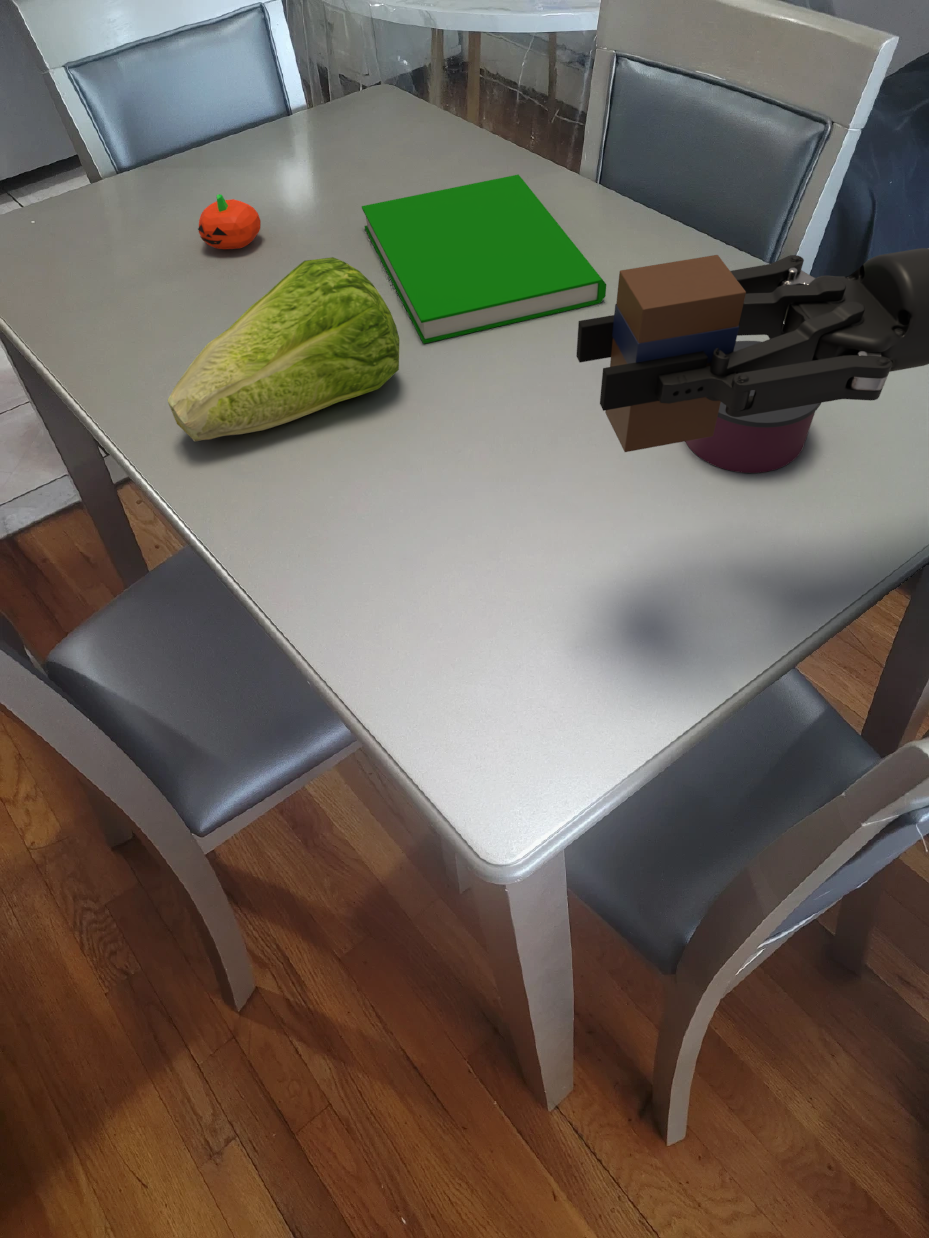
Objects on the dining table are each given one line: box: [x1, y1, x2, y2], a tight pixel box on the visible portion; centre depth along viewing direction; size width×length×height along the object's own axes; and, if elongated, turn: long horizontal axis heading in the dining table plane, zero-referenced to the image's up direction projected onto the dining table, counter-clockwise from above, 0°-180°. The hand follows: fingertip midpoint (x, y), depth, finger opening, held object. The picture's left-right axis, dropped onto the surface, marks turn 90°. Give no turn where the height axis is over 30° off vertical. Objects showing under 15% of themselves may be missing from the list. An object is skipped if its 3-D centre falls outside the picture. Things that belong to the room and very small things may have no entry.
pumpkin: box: [197, 193, 262, 250], centre depth 112 cm, size 7×8×6 cm
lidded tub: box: [684, 340, 822, 474], centre depth 85 cm, size 13×13×6 cm
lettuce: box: [167, 256, 400, 442], centre depth 89 cm, size 14×24×14 cm
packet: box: [605, 254, 746, 453], centre depth 57 cm, size 6×4×11 cm
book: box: [361, 174, 607, 344], centre depth 108 cm, size 22×28×3 cm
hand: (591, 365), depth 56 cm, fingers closed on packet, 4 cm apart
